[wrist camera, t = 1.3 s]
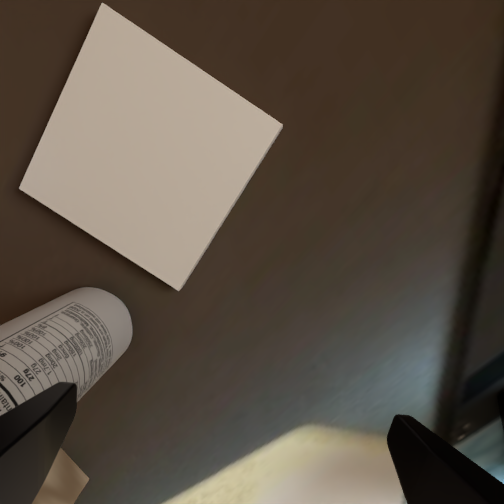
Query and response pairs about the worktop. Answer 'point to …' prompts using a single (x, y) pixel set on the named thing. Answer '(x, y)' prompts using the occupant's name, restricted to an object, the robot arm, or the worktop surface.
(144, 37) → the pad
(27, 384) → the energy drink can
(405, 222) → the worktop surface
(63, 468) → the birch block
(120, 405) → the worktop surface
